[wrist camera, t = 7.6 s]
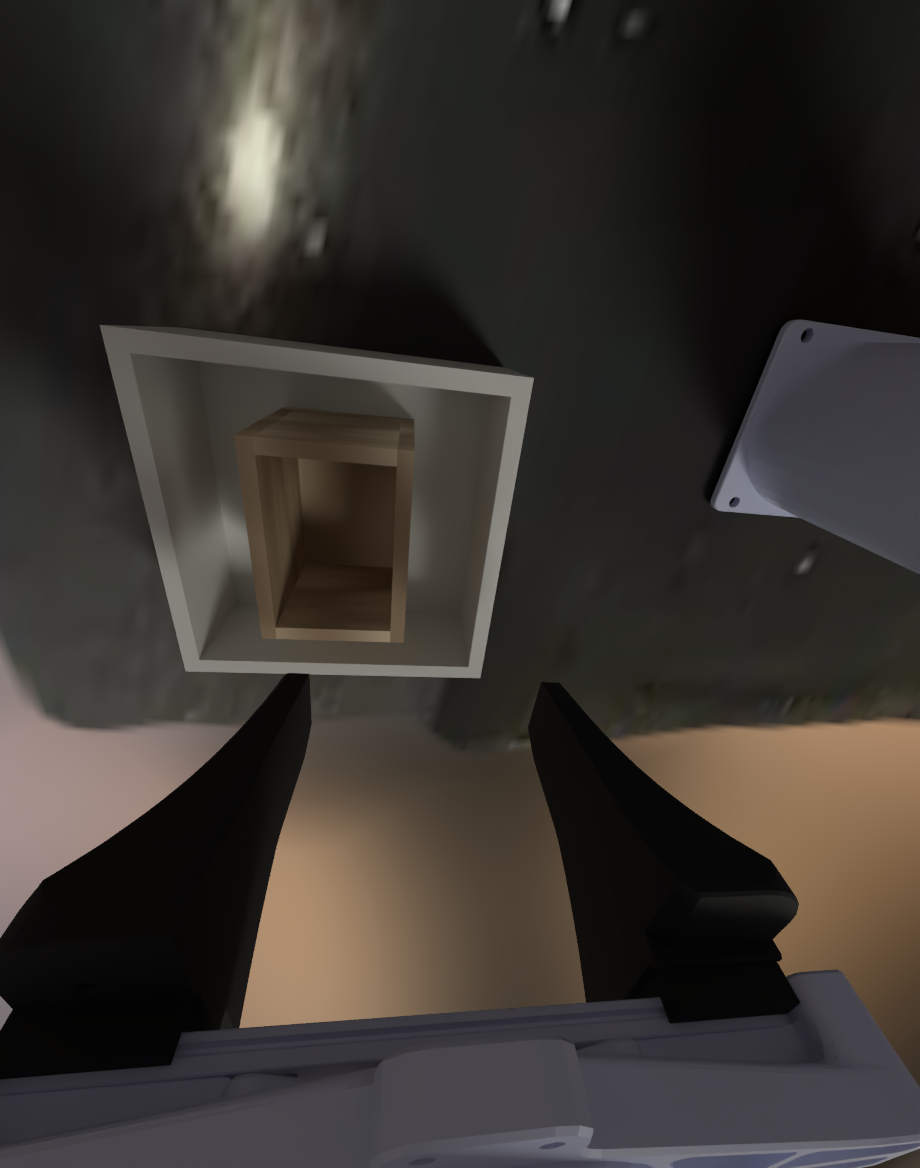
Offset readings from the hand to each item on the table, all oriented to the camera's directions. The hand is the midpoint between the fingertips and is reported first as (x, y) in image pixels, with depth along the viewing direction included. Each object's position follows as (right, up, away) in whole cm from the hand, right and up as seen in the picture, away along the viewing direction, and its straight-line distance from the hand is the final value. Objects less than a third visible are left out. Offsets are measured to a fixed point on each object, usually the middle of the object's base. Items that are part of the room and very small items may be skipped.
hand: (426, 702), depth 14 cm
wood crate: (-4, +7, +5) cm, 10 cm away
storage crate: (-4, +8, +6) cm, 10 cm away
